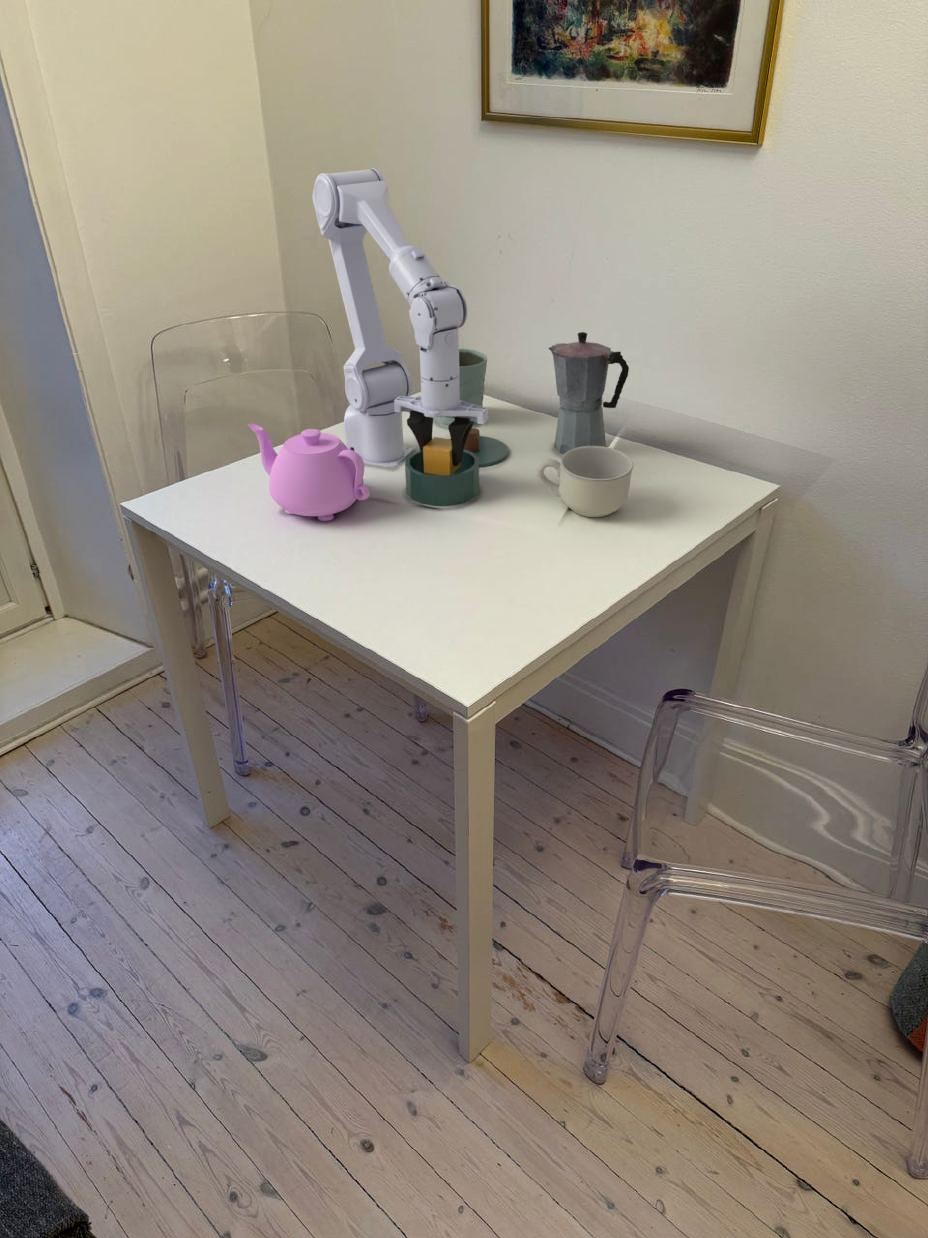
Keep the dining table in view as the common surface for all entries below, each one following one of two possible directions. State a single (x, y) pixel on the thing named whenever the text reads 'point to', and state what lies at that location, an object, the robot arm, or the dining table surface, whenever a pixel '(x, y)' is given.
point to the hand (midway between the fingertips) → (442, 460)
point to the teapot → (312, 473)
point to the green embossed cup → (470, 379)
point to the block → (439, 457)
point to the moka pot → (583, 391)
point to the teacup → (591, 479)
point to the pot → (442, 482)
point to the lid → (485, 448)
